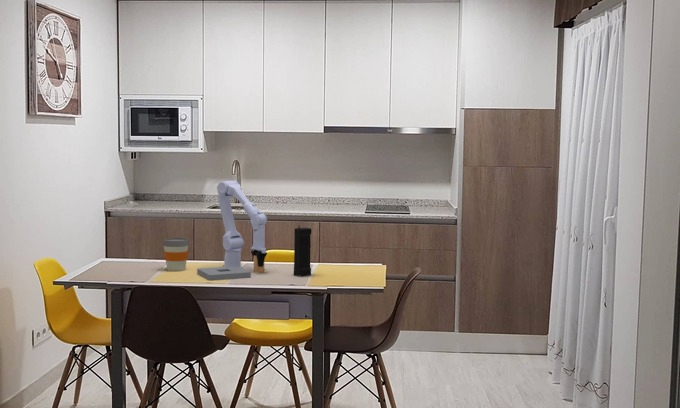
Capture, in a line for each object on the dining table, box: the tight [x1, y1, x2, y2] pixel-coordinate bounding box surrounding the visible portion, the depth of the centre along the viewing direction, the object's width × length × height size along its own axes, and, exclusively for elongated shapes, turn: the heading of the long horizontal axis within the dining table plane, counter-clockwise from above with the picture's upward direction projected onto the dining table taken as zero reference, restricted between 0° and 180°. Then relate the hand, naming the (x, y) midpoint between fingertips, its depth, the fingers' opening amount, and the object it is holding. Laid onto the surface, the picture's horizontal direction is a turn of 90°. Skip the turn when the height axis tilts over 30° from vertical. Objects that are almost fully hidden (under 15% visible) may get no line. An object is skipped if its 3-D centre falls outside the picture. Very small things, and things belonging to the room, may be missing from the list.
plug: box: [253, 255, 265, 274], centre depth 391 cm, size 4×4×8 cm
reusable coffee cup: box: [162, 237, 190, 272], centre depth 396 cm, size 13×13×15 cm
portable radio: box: [293, 226, 312, 277], centre depth 382 cm, size 8×6×25 cm
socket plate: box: [196, 266, 252, 282], centre depth 380 cm, size 20×20×2 cm
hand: (259, 265), depth 391 cm, fingers closed on plug, 4 cm apart
